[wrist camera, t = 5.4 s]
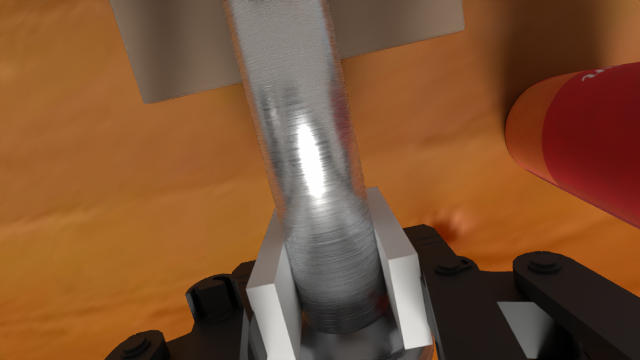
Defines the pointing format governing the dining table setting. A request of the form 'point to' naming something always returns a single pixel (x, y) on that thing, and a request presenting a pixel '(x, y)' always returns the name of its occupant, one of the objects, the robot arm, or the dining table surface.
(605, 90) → the coffee cup
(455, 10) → the block
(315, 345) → the shaft
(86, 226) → the dining table surface
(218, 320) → the robot arm
